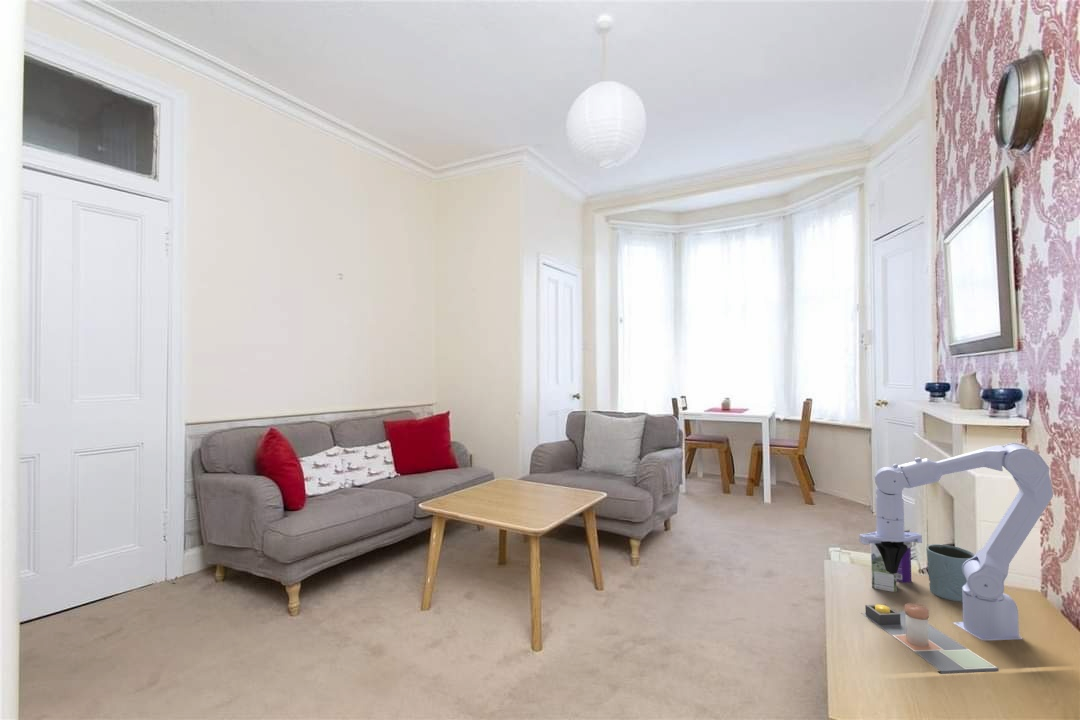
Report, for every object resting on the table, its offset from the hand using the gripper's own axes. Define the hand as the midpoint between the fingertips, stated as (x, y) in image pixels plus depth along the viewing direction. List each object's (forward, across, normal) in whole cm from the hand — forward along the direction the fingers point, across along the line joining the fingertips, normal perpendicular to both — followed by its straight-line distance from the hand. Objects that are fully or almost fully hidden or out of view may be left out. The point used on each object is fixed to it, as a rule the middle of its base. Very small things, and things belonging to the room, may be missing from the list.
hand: (891, 571), depth 127 cm
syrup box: (+11, -8, -14) cm, 19 cm away
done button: (+10, +5, +4) cm, 12 cm away
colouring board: (+10, +2, +12) cm, 16 cm away
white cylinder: (+10, +5, +14) cm, 17 cm away
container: (+11, -16, -18) cm, 26 cm away
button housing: (+10, +5, +4) cm, 12 cm away
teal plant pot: (+11, -22, -8) cm, 26 cm away
